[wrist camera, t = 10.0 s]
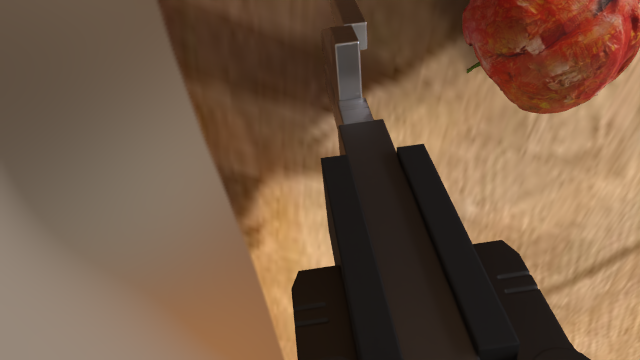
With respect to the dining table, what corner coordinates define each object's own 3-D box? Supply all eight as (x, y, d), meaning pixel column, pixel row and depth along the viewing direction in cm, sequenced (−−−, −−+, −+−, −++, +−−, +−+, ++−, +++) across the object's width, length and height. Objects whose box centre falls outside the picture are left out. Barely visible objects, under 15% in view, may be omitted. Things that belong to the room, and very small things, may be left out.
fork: (308, -10, 21) (481, 575, 6) (348, -15, 21) (631, 550, 6) (321, 116, 25) (450, 689, 9) (356, 112, 25) (542, 673, 9)
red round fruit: (526, 56, 30) (724, -45, 21) (500, 166, 27) (717, 100, 19) (427, -22, 27) (607, -172, 19) (387, 89, 25) (576, -27, 16)
